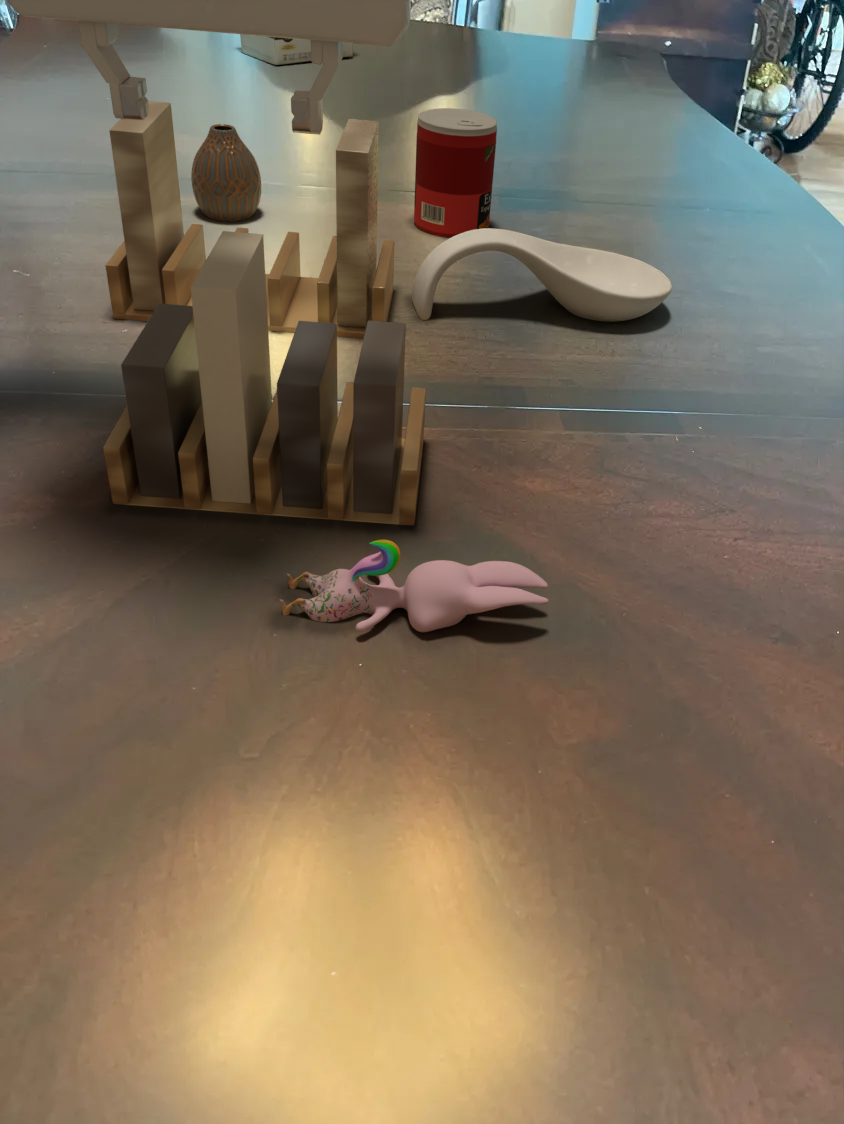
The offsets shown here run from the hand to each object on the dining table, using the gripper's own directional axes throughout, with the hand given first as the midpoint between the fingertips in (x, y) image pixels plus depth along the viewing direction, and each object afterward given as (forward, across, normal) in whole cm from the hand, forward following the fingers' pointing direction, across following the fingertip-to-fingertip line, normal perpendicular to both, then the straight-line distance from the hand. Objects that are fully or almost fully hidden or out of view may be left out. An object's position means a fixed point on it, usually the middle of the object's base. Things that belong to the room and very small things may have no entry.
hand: (220, 124), depth 57 cm
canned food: (+22, -12, -52) cm, 58 cm away
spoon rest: (+23, -21, -32) cm, 45 cm away
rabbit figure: (+23, -12, +14) cm, 29 cm away
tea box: (+22, +15, -126) cm, 129 cm away
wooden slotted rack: (+22, +4, -28) cm, 36 cm away
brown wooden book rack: (+22, -2, 0) cm, 22 cm away
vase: (+22, +11, -50) cm, 56 cm away
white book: (+21, 0, 0) cm, 21 cm away
